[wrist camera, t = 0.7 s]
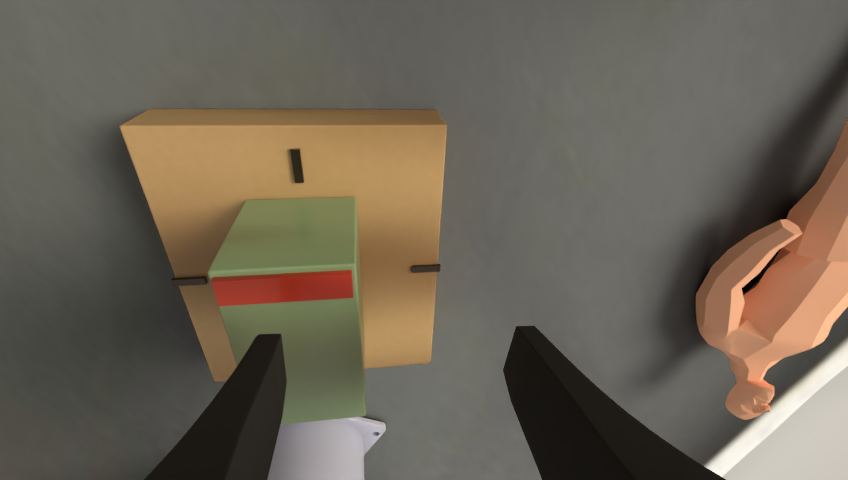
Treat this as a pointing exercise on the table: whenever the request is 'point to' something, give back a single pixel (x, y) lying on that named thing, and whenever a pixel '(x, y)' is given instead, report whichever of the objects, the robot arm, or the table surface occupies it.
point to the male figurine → (780, 287)
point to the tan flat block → (293, 179)
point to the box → (299, 299)
